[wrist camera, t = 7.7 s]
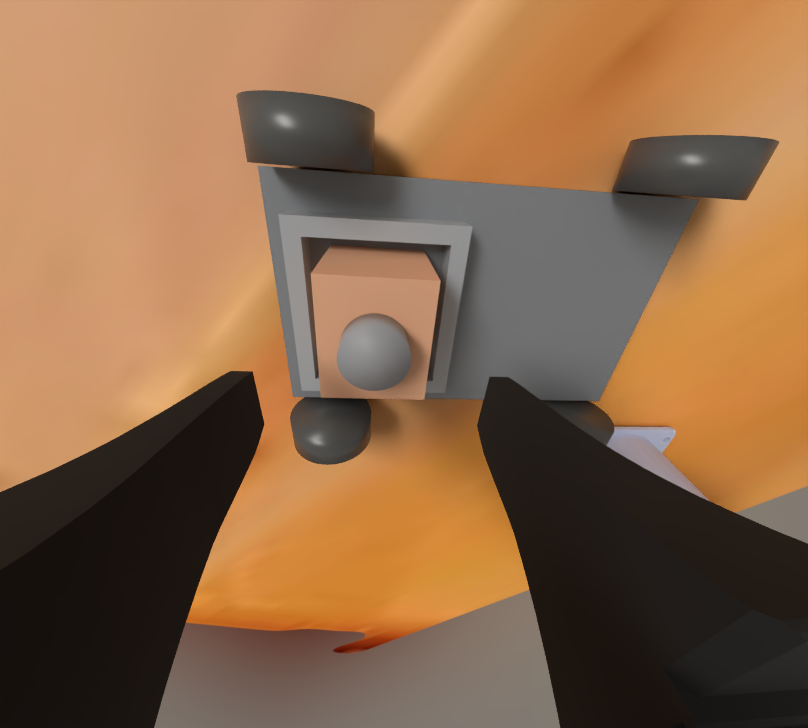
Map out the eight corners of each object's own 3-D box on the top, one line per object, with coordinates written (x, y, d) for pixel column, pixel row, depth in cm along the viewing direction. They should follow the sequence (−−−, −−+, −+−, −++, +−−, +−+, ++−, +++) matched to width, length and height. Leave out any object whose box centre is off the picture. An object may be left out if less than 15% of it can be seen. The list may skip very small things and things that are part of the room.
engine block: (413, 345, 18) (427, 418, 12) (335, 342, 17) (315, 416, 12) (423, 250, 15) (446, 292, 10) (331, 244, 15) (303, 284, 9)
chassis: (580, 412, 23) (621, 462, 19) (300, 410, 21) (281, 464, 17) (703, 152, 14) (823, 143, 10) (258, 111, 13) (202, 83, 9)
